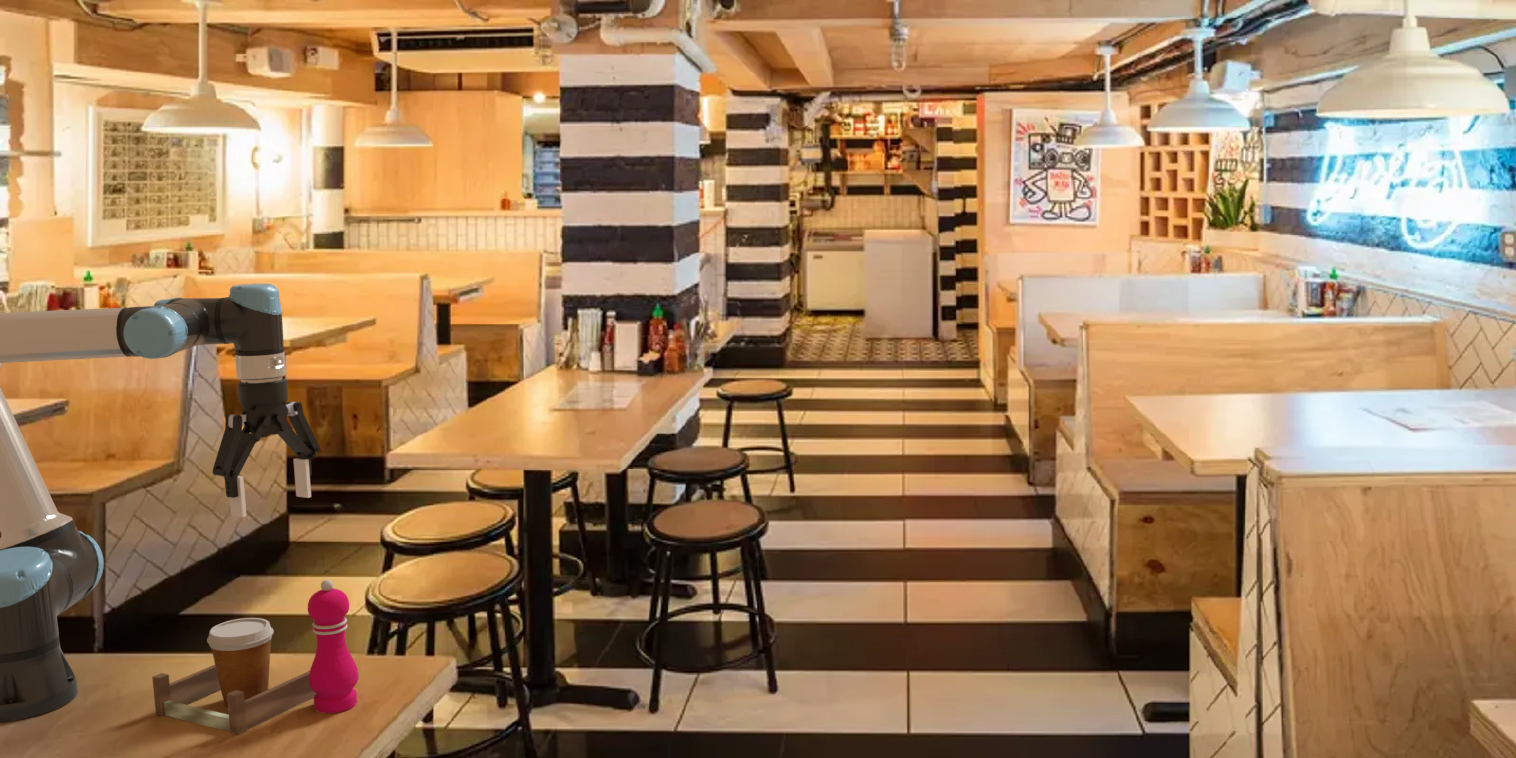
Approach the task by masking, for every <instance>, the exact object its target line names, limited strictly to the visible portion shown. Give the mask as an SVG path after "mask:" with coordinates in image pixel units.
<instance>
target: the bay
mask: <svg viewBox="0 0 1516 758" xmlns="http://www.w3.org/2000/svg"><path fill="white" fill-rule="evenodd" d="M309 674H310V670H308V671H306V672H304V673H302V674H300V675H298V676H295V677H292V678H291V679H288V680H287V681H284V682H282V683H280V684H277V685H276V686H275V685H274V686H273V687H271V688H268V690H267V691H264V692H262V693H260V694H258V695H256V696H253V697H251V698H249V699H247V700H245V701H244V692H242V691H238V690H235V691H233V692H231V693H228V694H227V701H228V708H227V709H228V714H227V713H223V712H218V711H214V710H211V709H206V708H202V707H199V706H198V707H197V706H194V705H190V704H192V703H195V702H197V701H199V700H201V699H202V698H205V697H208V696H210V695H212V694H215V693H217V692H219V691H221V687H220V683H219V679H218V674H217V670H216V666H215V664H212V665H210V666H209V667H206V668H203V669H201V670H199V671H196V672H194V673H191V674H189V675H186V676H184V677H182V678H179V679H177V680H175V681H172V682H170V675H169V674H168V673H162V672H160V673H158V674H155V675H152V677H151V678H152V688H153V698H154V707H155V710H154V711H155V715H156V716H162V717H164V716H166V717H171V718H174V719H178V720H182V721H187V722H189V723H193V724H197V725H201V726H206V727H210V728H214V729H218V730H222V731H226V732H229V733H230V734H233V735H235V736H239V735H242V734H243V733H245V732H247V730H249V729H252V728H253V727H256V726H258V725H260V724H261V723H263V722H266V721H267V720H269V719H271V718H274V717H276V716H279V715H280V714H283V713H284V712H287V711H288V710H291V709H293V708H295V707H297V706H298V705H300V704H302V703H305V702H307V701H309V700H312V699H314V696H315V695H316V694H317V693H315V692H314V691H313V690H312V689H311V687H310V685H309ZM257 724H258V725H257ZM255 725H256V726H255Z"/></svg>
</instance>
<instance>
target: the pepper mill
mask: <svg viewBox="0 0 1516 758" xmlns="http://www.w3.org/2000/svg"><path fill="white" fill-rule="evenodd" d="M333 587H334V583H333V581H332V580H330V579H324V580H323V581H322V582H321V583H320V588H321V589H320V590H319V589H318V590H317V591H315V593H313V594H312V595H311V596H310V598H309V599H308V602H307V613H308V616H309V617H310V618H311V619H312V620H313V622H312V624H311V626H312V627H313V628H312V632H313V633H314V634H315V637H316V650H315V651H316V652H315V655H314V658H313V660H312V661H313V662H312V663H311V667H310V670H309V671H310V674H309V685H310V687H311V689H312V690H313V691H314V692H315V693H317V694H316V695H315V696H314V697H313V706H314V709H315V711H317V712H319V713H321V714H322V713H323V714H337V713H341V712H344V711H348V710H351V709H352V708H354V707H355V706H356V705H357V703H358V695H357V690H356V689H355V688H354V687H355V686H356V685H357V683H358V681H359V680H360V679H359V678H360V676H359V669H358V667H357V664H356V661H355V660H354V658H353V656H352V655H351V652H350V651H349V649H348V645H347V641H346V630H347V628H348V623H347V622H348V618H347V617H346V615H347V614H348V612H349V610H350V601H349V598H348V595H347V594H346V593H345V592H344V591H343V590H340V589H338V588H333ZM353 706H354V707H353Z"/></svg>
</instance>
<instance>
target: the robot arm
mask: <svg viewBox="0 0 1516 758" xmlns="http://www.w3.org/2000/svg"><path fill="white" fill-rule="evenodd" d="M283 328H284V327H283V310H282V304H281V297H280V291H279V288H278V287H277V286H276V285H275V284H272V283H252V284H251V283H250V284H249V283H245V284H236V285H232V286H231V287H230V289H229V295H228V296H227V297H226V296H225V297H214V298H213V297H208V298H207V297H202V298H201V297H195V298H194V297H193V298H192V297H191V298H188V297H187V298H183V297H175V298H169V299H168V298H167V299H159V300H158V301H156V302H155V303H154V305H151V306H150V305H149V306H147V305H146V306H130V307H109V308H105V307H104V308H87V309H63V310H58V309H57V310H37V311H14V312H11V311H10V312H0V369H1V367H2V365H3V364H7V363H29V362H30V363H31V362H46V361H47V362H48V361H66V360H67V361H71V360H86V359H87V360H88V359H106V358H107V359H108V358H109V359H110V358H111V359H112V358H124V357H125V358H126V357H127V358H129V357H130V358H131V357H134V358H135V357H136V358H137V357H139V358H140V357H141V358H144V359H150V360H153V359H162V358H163V359H164V358H168V357H172V355H173V356H174V354H177V353H179V352H182V351H184V350H185V351H186V350H188V349H191V348H193V347H197V346H203V345H205V346H206V345H208V346H209V345H230V344H233V347H234V354H235V355H234V356H235V357H234V359H235V372H236V378H237V379H238V380H240V381H238V383H237V395H238V403H239V404H240V406H241V407H242V411H241V414H230V413H229V414H226V416H225V422H224V428H225V429H224V431H223V435H222V438H221V442H220V444H219V445H220V446H219V448H218V452H217V455H216V458H215V461H214V464H213V467H212V472H211V473H212V475H214V476H219V477H223V478H224V486H225V488H224V489H225V495H226V496H227V498H228V499H229V507H230V510H229V511H230V516H232V517H239V518H246V517H247V516H248V515H247V505H246V504H247V503H246V502H247V501H246V492H245V480H244V476H241V475H240V474H241V472H242V470H243V468H244V466H245V464H246V463H247V460H248V458H249V457H250V454H251V452H252V451H253V448H254V447H255V444H256V443H257V442H259V441H260V439H261V438H267V437H269V436H271V435H278V436H279V437H280V438H281V440H282V441H283V442H284V443H285V444H286V445H287V446H288V448H290V450H291V451H293V453H294V454H295V456H296V457H298V458H293V469H294V471H293V472H294V484H295V496H296V497H298V498H304V499H305V498H307V499H309V498H312V487H311V477H312V474H313V472H312V471H313V470H312V459H315V458H316V457H317V453H320V451H321V447H320V443H319V442H318V440H317V438H316V436H315V434H314V432H313V430H312V428H311V426H310V425H309V422H308V421H307V419H306V416H305V415H304V409H303V404H302V402H298V401H297V402H296V401H288V399H289V392H288V390H289V389H288V380H286V378H285V376H286V375H287V368H286V365H287V364H286V354H285V352H286V351H285V345H284V343H285V342H284V330H283ZM283 377H284V378H283ZM287 401H288V402H287ZM287 418H288V420H289V421H290V423H289V422H288V421H287V420H286V419H287ZM290 424H291V425H290ZM28 446H29V445H28V444H27V442H26V440H25V437H24V435H23V433H22V431H21V429H20V427H19V425H18V422H17V420H16V418H15V416H14V414H13V411H12V410H11V407H10V405H9V403H8V401H7V399H6V396H5V394H4V393H3V390H2V388H1V387H0V534H1V537H0V722H1V723H2V722H11V721H16V720H23V719H28V718H32V717H36V716H40V715H43V714H46V713H49V712H52V711H55V710H56V709H59V708H62V707H63V706H65V705H67V704H68V703H70V702H72V701H73V700H74V699H75V698H76V696H77V695H78V683H77V677H76V675H75V674H74V671H73V669H72V668H71V666H70V663H69V661H68V659H67V658H66V656H65V654H64V652H63V651H62V648H61V643H60V636H59V635H60V634H59V625H58V616H59V615H61V614H62V613H63V612H65V611H66V610H68V609H69V608H70V607H72V606H73V605H75V604H78V603H80V602H81V601H83V599H85V598H86V597H87V596H88V595H89V594H90V593H91V592H92V591H93V590H94V588H95V587H96V586H97V584H98V583H100V582H99V581H100V580H101V577H102V575H103V570H104V563H105V562H104V556H103V551H102V550H101V547H100V546H99V544H98V543H97V541H96V540H95V539H94V538H93V537H92V536H91V535H89V534H86V533H84V532H83V531H81V530H78V528H77V526H76V523H75V521H74V519H73V517H72V516H70V515H67V514H64V513H60V512H59V511H58V509H57V507H56V504H55V503H54V500H53V498H52V496H51V494H50V491H49V490H48V488H47V485H46V483H45V481H44V479H43V477H42V475H41V472H40V470H39V468H38V466H37V463H36V462H35V458H34V457H33V455H32V452H31V450H30V449H29V447H28Z"/></svg>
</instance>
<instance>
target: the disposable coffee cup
mask: <svg viewBox="0 0 1516 758" xmlns="http://www.w3.org/2000/svg"><path fill="white" fill-rule="evenodd" d="M274 632H275V631H274V628H273V627H271V624H270V621H269V620H267V619H266V618H265V619H264V618H261V617H244V618H237V619H236V618H235V619H231V620H227V621H224V622H222V623H219V624H216V625H215V626H213V627H211V629H210V630H209V633H208V637H207V638H206V642H207V644H208V645H209V647H210V649H211V653H212V658H213V661H214V665H215V666H216V670H217V674H218V679H219V683H220V687H221V690H220V691H221V695H222V700H223V706H224V707H226V708H227V709H228V701H227V694H228V693H231V692H233V691H235V690H238V691H242V692H244V701H245V700H247V699H249V698H251V697H253V696H256V695H258V694H260V693H262V692H264V691H267V690H269V685H270V684H269V682H270V681H269V679H270V661H271V645H272V642H271V641H272V638H273V634H274Z"/></svg>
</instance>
